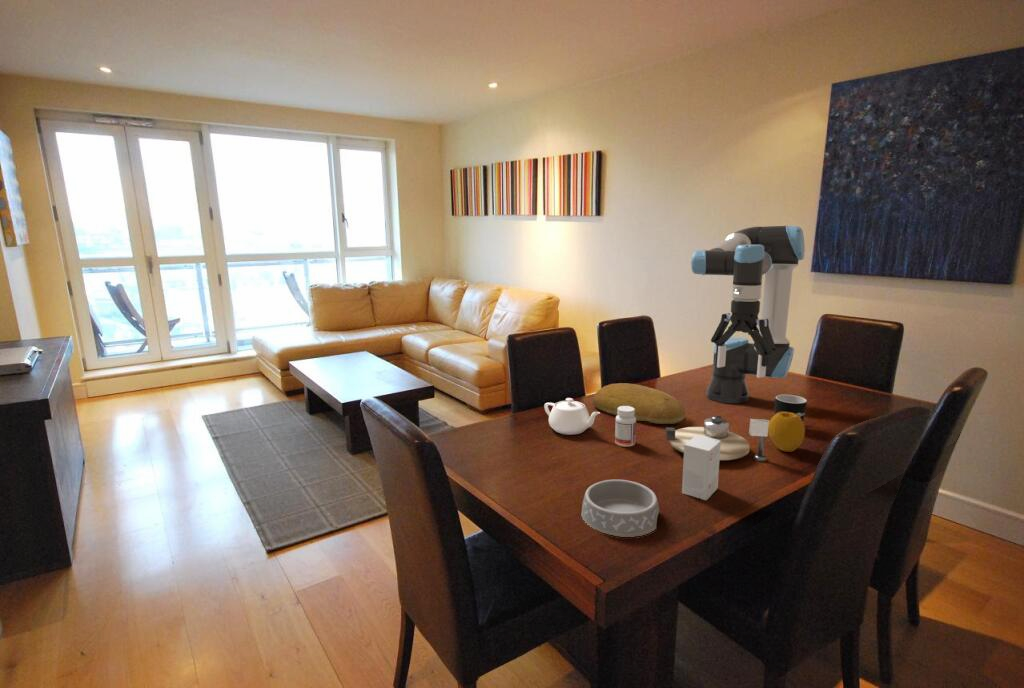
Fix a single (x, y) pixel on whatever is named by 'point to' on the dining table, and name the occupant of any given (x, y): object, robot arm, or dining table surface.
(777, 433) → the apple
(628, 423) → the pill bottle
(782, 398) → the mug
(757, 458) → the silver rod with block
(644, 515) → the dog bowl
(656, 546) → the dining table surface
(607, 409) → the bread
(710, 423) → the cover
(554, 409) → the teapot
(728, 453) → the platter
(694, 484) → the small box
